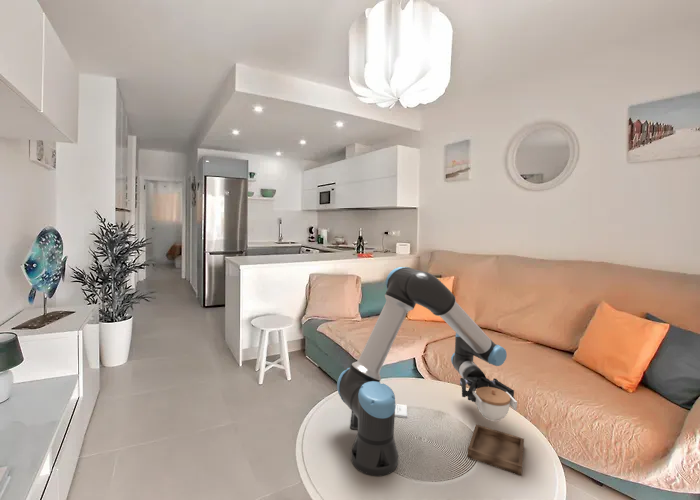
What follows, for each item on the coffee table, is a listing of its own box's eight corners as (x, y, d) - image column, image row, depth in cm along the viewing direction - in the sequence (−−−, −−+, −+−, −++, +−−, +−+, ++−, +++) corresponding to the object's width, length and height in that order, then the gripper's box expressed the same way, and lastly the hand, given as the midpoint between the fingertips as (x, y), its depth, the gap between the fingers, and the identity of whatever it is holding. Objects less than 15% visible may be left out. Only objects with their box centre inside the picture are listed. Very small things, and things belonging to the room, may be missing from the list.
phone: (350, 427, 126) (352, 405, 140) (350, 430, 126) (352, 408, 141) (371, 429, 125) (371, 406, 140) (371, 432, 125) (371, 409, 140)
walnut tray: (467, 457, 113) (468, 448, 112) (475, 431, 127) (475, 424, 126) (521, 476, 105) (522, 466, 105) (523, 446, 119) (524, 438, 119)
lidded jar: (468, 408, 119) (470, 383, 118) (496, 406, 121) (497, 381, 120) (486, 427, 109) (488, 399, 108) (516, 424, 111) (518, 396, 110)
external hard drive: (376, 405, 144) (406, 408, 142) (375, 416, 136) (407, 419, 134) (376, 401, 144) (406, 404, 142) (375, 412, 136) (407, 415, 134)
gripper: (501, 384, 133) (532, 417, 111) (442, 383, 132) (462, 416, 110) (502, 365, 132) (534, 395, 110) (443, 365, 132) (463, 394, 110)
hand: (498, 405), depth 110 cm, fingers closed on lidded jar, 11 cm apart
